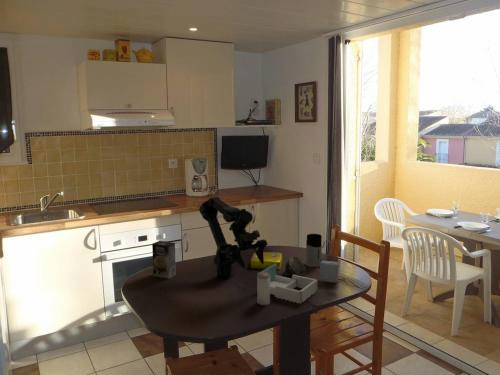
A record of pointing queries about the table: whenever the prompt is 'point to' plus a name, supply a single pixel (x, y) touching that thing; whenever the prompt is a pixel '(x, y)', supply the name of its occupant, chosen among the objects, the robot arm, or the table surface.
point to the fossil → (295, 267)
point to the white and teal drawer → (278, 280)
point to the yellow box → (267, 260)
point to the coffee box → (164, 259)
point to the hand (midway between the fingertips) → (253, 265)
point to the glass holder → (314, 250)
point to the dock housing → (294, 295)
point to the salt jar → (263, 288)
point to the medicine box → (329, 271)
